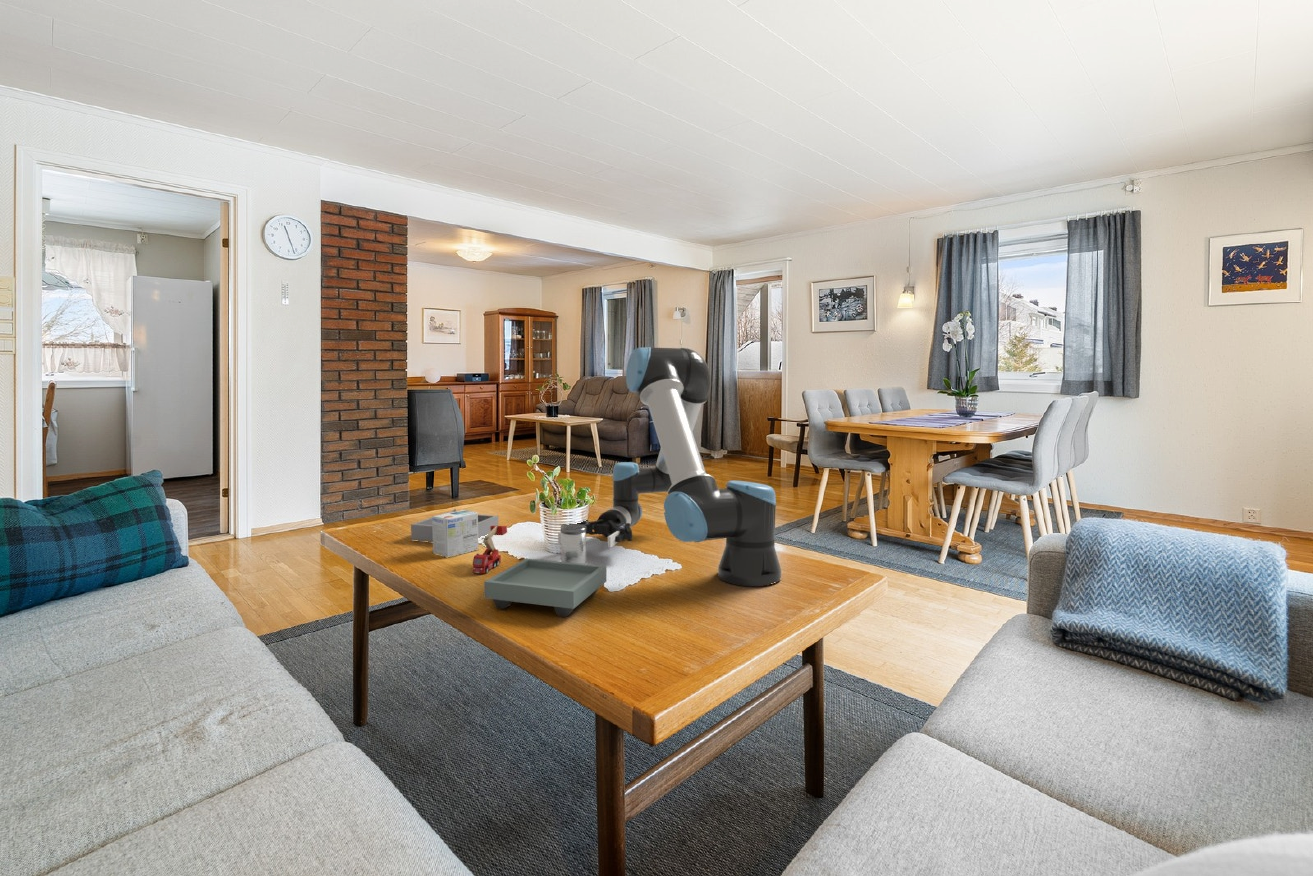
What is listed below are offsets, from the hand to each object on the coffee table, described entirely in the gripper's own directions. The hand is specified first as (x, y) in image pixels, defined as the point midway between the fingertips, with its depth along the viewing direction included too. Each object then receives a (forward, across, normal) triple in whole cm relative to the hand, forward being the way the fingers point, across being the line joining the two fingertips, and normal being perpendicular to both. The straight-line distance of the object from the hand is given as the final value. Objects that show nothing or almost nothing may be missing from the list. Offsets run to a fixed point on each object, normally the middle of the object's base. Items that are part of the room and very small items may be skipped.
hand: (583, 540), depth 165 cm
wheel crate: (-16, +49, -7) cm, 52 cm away
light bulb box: (-1, +39, -7) cm, 39 cm away
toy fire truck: (+7, +23, -7) cm, 25 cm away
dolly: (+25, -2, -7) cm, 26 cm away
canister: (+7, 0, -7) cm, 10 cm away
